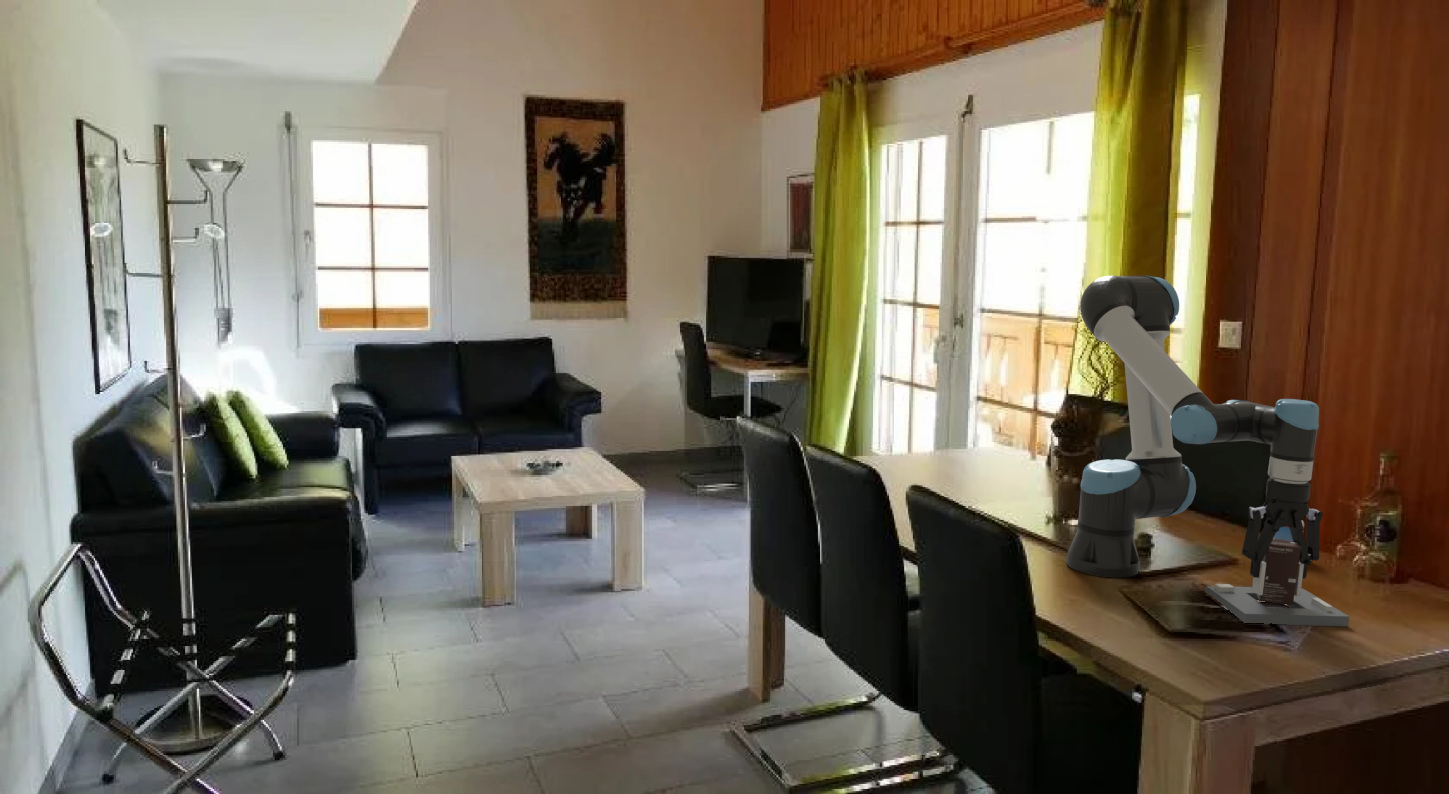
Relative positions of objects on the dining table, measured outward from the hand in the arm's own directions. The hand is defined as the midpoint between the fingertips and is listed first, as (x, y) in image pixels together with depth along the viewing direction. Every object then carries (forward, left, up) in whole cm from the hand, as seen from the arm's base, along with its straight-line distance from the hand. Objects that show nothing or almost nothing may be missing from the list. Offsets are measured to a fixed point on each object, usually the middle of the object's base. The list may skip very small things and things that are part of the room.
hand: (1275, 593), depth 209 cm
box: (0, 0, -2) cm, 2 cm away
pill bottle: (+23, +38, -4) cm, 45 cm away
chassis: (0, 0, -4) cm, 4 cm away
